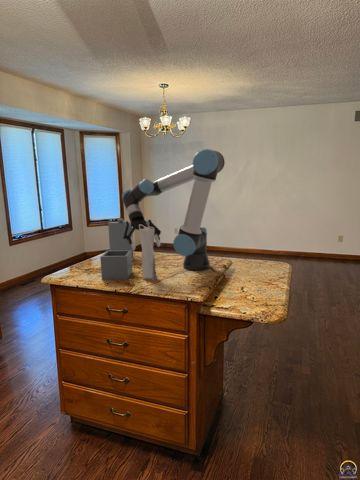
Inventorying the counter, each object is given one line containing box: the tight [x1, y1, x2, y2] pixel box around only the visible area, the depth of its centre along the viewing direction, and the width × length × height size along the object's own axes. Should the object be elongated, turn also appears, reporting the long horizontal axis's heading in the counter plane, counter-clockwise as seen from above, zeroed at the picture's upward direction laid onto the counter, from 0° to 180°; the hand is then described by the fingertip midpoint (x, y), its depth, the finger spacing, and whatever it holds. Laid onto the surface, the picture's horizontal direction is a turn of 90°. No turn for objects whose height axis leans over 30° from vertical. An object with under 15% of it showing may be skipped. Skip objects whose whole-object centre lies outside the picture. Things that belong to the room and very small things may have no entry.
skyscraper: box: [139, 224, 158, 281], centre depth 162 cm, size 8×8×28 cm
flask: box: [107, 218, 134, 259], centre depth 207 cm, size 17×5×25 cm, turn 65°
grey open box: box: [99, 250, 134, 281], centre depth 168 cm, size 13×13×12 cm
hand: (147, 247), depth 162 cm, fingers open, 13 cm apart
